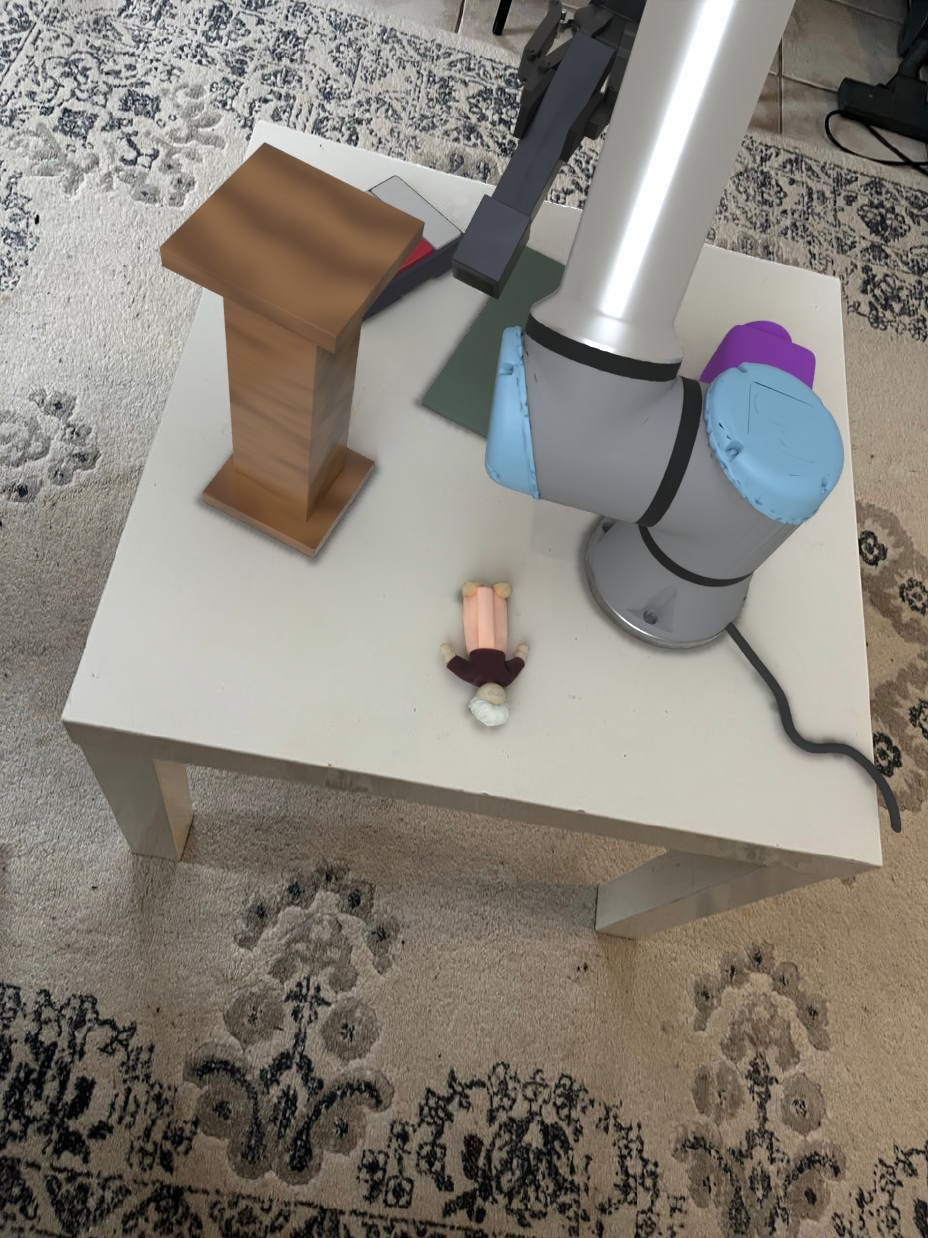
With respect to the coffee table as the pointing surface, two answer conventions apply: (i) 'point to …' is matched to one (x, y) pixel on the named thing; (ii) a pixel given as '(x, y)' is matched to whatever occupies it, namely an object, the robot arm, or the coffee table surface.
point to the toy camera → (761, 352)
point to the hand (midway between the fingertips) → (544, 133)
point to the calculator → (429, 253)
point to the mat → (491, 344)
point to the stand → (291, 333)
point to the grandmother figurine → (486, 651)
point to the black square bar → (529, 171)
